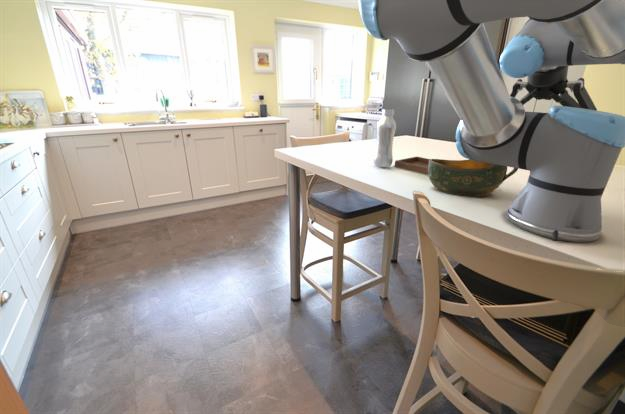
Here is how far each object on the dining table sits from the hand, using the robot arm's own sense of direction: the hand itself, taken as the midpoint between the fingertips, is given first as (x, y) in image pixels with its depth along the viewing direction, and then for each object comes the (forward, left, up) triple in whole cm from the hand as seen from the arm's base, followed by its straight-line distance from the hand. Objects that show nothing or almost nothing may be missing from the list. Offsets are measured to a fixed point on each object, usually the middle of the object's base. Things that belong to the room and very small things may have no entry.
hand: (541, 134), depth 80 cm
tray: (-8, +27, -15) cm, 32 cm away
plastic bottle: (-19, +40, -15) cm, 47 cm away
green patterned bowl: (-22, +8, -15) cm, 28 cm away
